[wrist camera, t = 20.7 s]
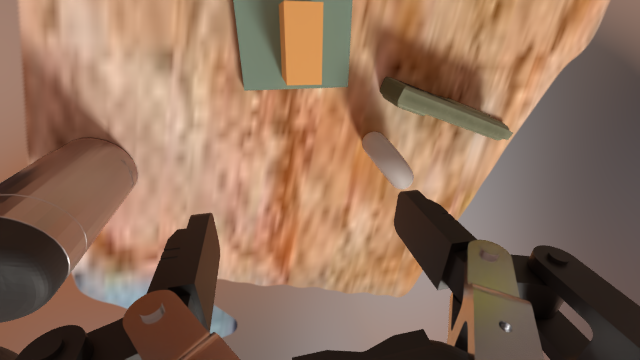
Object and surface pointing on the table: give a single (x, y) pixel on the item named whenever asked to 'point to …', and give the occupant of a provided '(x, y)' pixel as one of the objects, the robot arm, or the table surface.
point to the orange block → (301, 42)
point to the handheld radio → (442, 109)
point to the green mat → (265, 50)
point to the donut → (388, 160)
